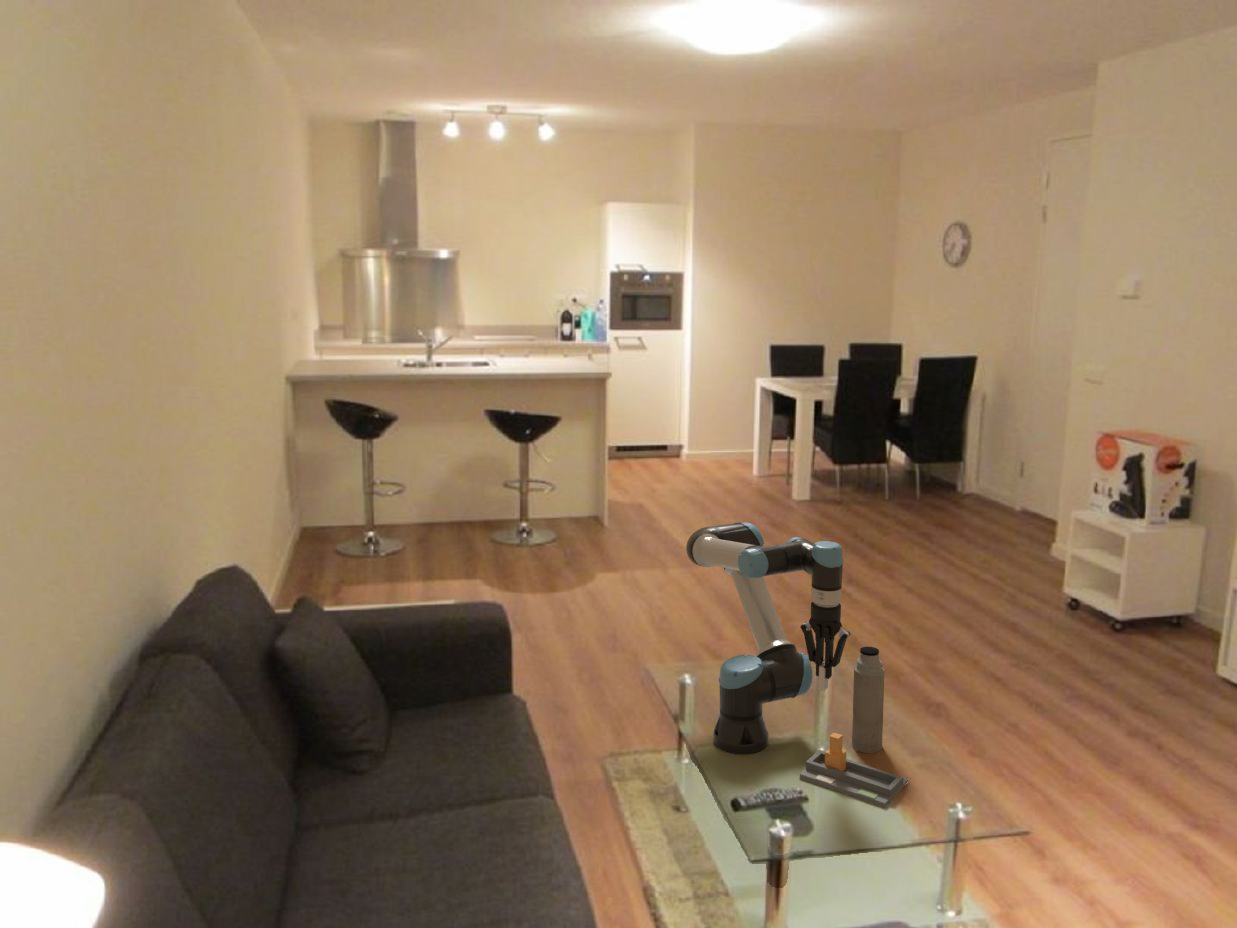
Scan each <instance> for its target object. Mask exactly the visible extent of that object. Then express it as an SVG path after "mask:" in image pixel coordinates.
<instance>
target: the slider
mask: <svg viewBox="0 0 1237 928" xmlns="http://www.w3.org/2000/svg"><path fill="white" fill-rule="evenodd" d="M843 737H844V736H843V734H840V733H836V732H833V733H832V734H830V735H829V748H828V749H827V750H826V751H824V752H825V766H828V767H831V768H834V769H837V770H840V771H844V770H845V769H846V759H847V752H848V751H847V750H846V749H843Z"/></svg>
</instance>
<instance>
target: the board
mask: <svg viewBox="0 0 1237 928" xmlns="http://www.w3.org/2000/svg"><path fill="white" fill-rule="evenodd" d="M825 752H826V751H823V750H820V749H819V750H818V751H816V752H815V753H814V754H813V755H811V757H809V759H807V760H806V761H805V768H804V770H802V771H801V772H799V779H801V780H803V781H805V782H810V783H813V784H814V785H815V784H816V785H818V786H821V787H824V788H827V789H830V790H833V791H835V792H838V793H841V794H844V795H846V796H850V797H853V798H855V799H859V800H860V801H864V802H867V803H870V804H871V805H872V804H873V805H876V806H879V807H881V808H887V806H888V805H889V804H890V803H891V802H892V801H893V800H894V799H895V798H896V797H897V795H899V793H900V792H901V791H903V789H904V788H905V787H906V786H905V784H906V783H907V782H908V783H909V779H908V778H907V777H904V776H902V775H898V774H895V773H892V772H889V771H886V770H882V769H879V768H876V767H873V766H870V765H868V764H865V763H864V764H863V763H860V762H858V761H854V760H851V759H848V758H846V769H845V770H844V771H840V770H837V769H834V768H831V767H828V766H825ZM904 786H905V787H904ZM903 787H904V788H903ZM900 790H901V791H900ZM899 791H900V792H899Z"/></svg>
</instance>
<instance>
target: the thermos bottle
mask: <svg viewBox="0 0 1237 928" xmlns="http://www.w3.org/2000/svg"><path fill="white" fill-rule="evenodd" d="M859 649H860V650H859V652H860V657H858V658H857V660H856V664H855V666H854V667H853V690H852V691H853V693H852V694H853V695H852V727H851V747H852V748H854V750H856V751H858V752H861V753H865V754H866V753H867V754H873V753H878V752H879V751H881V750H882V748H883V732H884V731H883V728H884V697H885V695H884V693H885V672H886V671H885V668H883V665H884V664H883V661H882V660H881V659H880V654H879V653H880V650H879V648H877V647H874V646H863V647H861V648H859Z"/></svg>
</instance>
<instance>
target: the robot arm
mask: <svg viewBox="0 0 1237 928" xmlns="http://www.w3.org/2000/svg"><path fill="white" fill-rule="evenodd" d="M764 544H765V542H764V538H763V535H762V533H761V532H760V529H758V527H757V526H756V525H755V524H752V523H750V522H737V521H736V522H733V523H727V524H721V525H713V526H705V527H702V528H699V529H697V530H695V531H694V532H693V533H692V534H691V535H690V536H689V538H688V539H687V542H686V547H685V548H686V549H685V550H686V555H687V557H688V559H689V560H690V561H691V562H692V563H693V564H694V565H697V566H699V567H704V568H711V567H714V566H715V567H720V568H723V570H724V572H725V574H726V575H729V576H731V578H732V580H733V582H734V585H735V588H736V591H737V594H738V596H739V599H740V602H741V606H742V608H743V611H744V613H745V616H746V618H747V621H748V624H749V627H750V630H751V633H752V635H753V638H754V640H755V641H754V642H755V644H756V647H757V649H758V651H757V653H756V655H753V654H752V655H751V654H747V655H745V654H739V655H736V656H735V655H734V656H732V657H730V658H728V659H726V660H725V661H724V662H723V663H722V664H721V666H720V668H719V670H720V671H719V678H718V682H719V715H718V718H717V721H716V724H715V726H714V730H713V743H714V745H715V746H716V747H718V748H719V749H721V750H723V751H725V752H729V753H732V754H739V755H740V754H742V755H744V754H748V755H749V754H753V753H754V754H755V753H758V752H761V751H763V750H765V748H766V747H767V746H768V745H769V732H768V729H767V726H766V723H765V720H764V717H763V705H764V704H766V703H772V702H777V701H782V700H785V699H786V700H787V699H794V698H796V697H799V696H802V695H805V694H807V693H808V692H809V690H810V689H811V687H812V683H813V675H814V674H813V666H812V663H814V664H815V676H816V677H818V689H817V690H818V691H822V692H825V691H826V690H827V689H828V688H829V679H831V677H832V676H833V668H835V667H837V665H839V664H840V662H841V659H842V656H843V652H844V649H845V647H846V646H845V645H846V643H847V639H849V637H850V636H851V632H850V631H846V630H845V629H844V628H843V624H842V621H841V617H842V604H841V603H842V588H843V587H842V584H843V569H844V567H843V566H844V557H843V556H844V555H843V553H844V551H843V547H842V545H841V544H840V543H838V542H835V541H828V540H823V541H822V540H821V541H817V542H815V543H814V542H813V541H810V540H808V539H806V538H804V537H803V538H802V537H798V536H795V537H791V538H789V539H788V540H787V541H786V542H785V543H779V544H774V545H767V546H766V545H765V546H764ZM800 571H803V572H805V573H807V574H808V575H811V585H810V586H811V594H810V601H811V602H810V618H809V620H808V621H805V622H804V623H802V624H801V625H800V629H801V631H802V633H803V636H804V641H805V646H806V647H805V648H806V651H807V654H806V653H804V652H802V651H798V650H797V648H796V645H795V644H794V643H793V642H791V641H789V640H788V639H787V636H786V634H785V630H784V628H783V626H782V623H781V620H780V618H779V615H778V612H777V610H776V607H775V604H774V601H773V599H772V596H771V593H770V591H769V588H768V586H767V583H766V580H765V578H764V577H766V576H774V575H779V574H780V575H781V574H787V573H792V572H800ZM813 632H814V633H813ZM813 634H814V635H815V636H814V635H813ZM836 635H838V638H839V639H838V640H837V644H836V647H835V651H834V642H835V637H836ZM814 637H815V638H814ZM811 662H812V663H811Z"/></svg>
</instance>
